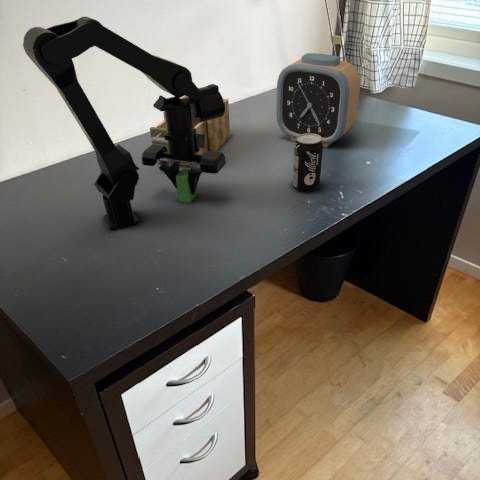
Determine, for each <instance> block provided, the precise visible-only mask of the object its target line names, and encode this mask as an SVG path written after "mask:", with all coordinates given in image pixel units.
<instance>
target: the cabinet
mask: <svg viewBox="0 0 480 480" xmlns="http://www.w3.org/2000/svg"><path fill="white" fill-rule="evenodd" d="M180 98H181V99H182V98H187V96H183V97H180ZM223 101H224V103H225V113H224V115H223V116H222V117H219V118H215V119H211V120H208V121H207V126H208V139H209V150H208V151H216V152H218V150H219V149H220V148H221V147H222V145H223V144H224V143H226V142H227V140H229V138H230V137H231V125H230V124H231V123H230V104H229V98H223ZM162 113H163V114H162V115H163V121H164V120H165V115H164V111H162ZM208 151H207V152H208ZM207 152H206V153H207ZM206 153H205V154H206ZM205 154H204V155H205Z"/></svg>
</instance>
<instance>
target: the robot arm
mask: <svg viewBox="0 0 480 480" xmlns="http://www.w3.org/2000/svg"><path fill="white" fill-rule="evenodd" d="M22 46H23V50H24V52H25V55H26V56H27V57H28V58H29V59H30V60H31V62H32V63H33V64H34V66H36V67H37V69H38V70H39V71H40V72H41V73H42V74H43V75H44V76H45V77H46V78H47V80H48V81H49V82H50V83H51V84H52V85H53V86H54V87H55V88H56V90H57V92H58V93H59V95H60V97H61V98H62V100H63V102H64V103H65V104H66V106H67V108H68V110H69V112H70V113H71V114H72V117H74V120H75V121H76V123H77V124H78V127H80V129H81V130H82V132H83V134H84V135H85V137H86V139H87V140H88V142H89V144H90V145H91V147H92V148H93V150H94V152H95V156H96V161H97V164H98V167H99V169H100V173H99V175H98V176H97V178H96V180H95V181H94V183H93V184H94V187H95V189H97V191H98V192H99V193H100V194H101V195H102V201H103V206H104V209H105V213H106V214H103V216H104V220H105V222H106V225H107V226H108V228H109V230H116V229H121V228H124V227H128V226H132V225H137V224H139V219H138V218H137V216H136V214H135V212H134V210H133V206H132V201H133V200H134V197H135V190H136V186H138V185H137V184H138V182H139V180H140V175H139V172H138V171H139V170H140V168H139V167H138V166H137V165H136V164H135V162H134V159H133V156H132V154H131V152H129V151H128V150H127V149H126V148H125V147H123V146H122V145H121V144H119V143H118V144H116V145H115V143H114V141H113V139H112V138H111V136H110V135H109V134H110V133H108V130H107V129H106V127H105V125H104V124H103V122H102V120H101V119H100V117H99V115H98V114H97V112H96V110H95V108H94V106H93V105H92V103H91V101H90V99H89V98H88V96H87V94H86V92H85V91H84V89H83V87H82V85H81V84H80V82H79V79H78V76H77V72H76V66H75V63H74V61H73V59H75V58H77V57H79V56H81V55H82V54H84V53H85V52H86V51H88V50H89V49H91V48H94V47H96V48H97V49H99V50H101V51H103V52H104V53H106V54H109V55H110V56H112V57H114V58H115V59H118V60H119V61H121V62H123V63H125V64H126V65H128V66H130V67H132V68H134V69H136V70H137V71H139V72H140V73H142V74H143V75H144V76H145V78H147V79H148V80H149V81H150V82H152V83H153V84H154V86H156V87H158V88H159V89H160V90H162V91H163V92H166V93H168V94H170V95H171V97H165V96H164V95H160V94H159V95H158V98H157V100H155V101H154V103H153V108H155V109H156V110H157V111H159V112H162V113H163V112H164V114H163V116H164V115H165V122H166V129H167V134H166V135H165V140H168V144H169V151H170V152H168V151H167V148H166V147H165V146H161V145H152V144H150V146H148V147H147V148H146V149H145V150H144V151H143V152H142V153H141V156H140V158H141V164H142V165H143V166H148V167H155V165H156V164H158V162H159V161H160V162H159V164H160V166H159V167H158V170H159V171H162V173H164V174H165V176H166V177H167V178H168V179H169V181H170V182H171V184H172V185H173V186H174V188H175V189H176V190H177V183H176V175H177V174H178V173H179V172H180V171H181V170H180V169H181V164H180V162H182V163H190V164H191V165H190V166H191V167H190V170H189V171H188V177H189V183H190V189H191V193H192V195H194V194H195V192H196V193H197V188H198V184H199V180H200V177H201V175H202V174H203V173H204V174H213V175H214V174H215V175H216V174H218V173H219V172H220V171H221V170H222V169H223V168H224V167H225V166H226V163H227V162H226V155H225V154H224V153H223V152H222V151H208V152H207V153H206V154H204V155H195V153H196V152H199V151H200V148H204V142H205V134H200V133H196V130H195V128H193V126H192V118H193V119H195V120H196V121H197V122H204V121H208V120H211V119H215V118H219V117H222V116H223V115H224V113H225V103H224V101H223V99H224V97H223V96H222V94H221V92H220V89H219V87H220V86H219V85H217V84H215V83H211V84H208V85H205V86H202V87H198V86H197V85H196V84H195V82H194V81H193V76H192V72H191V70H190V69H189V68H187V67H186V66H183V65H181V64H178V63H176V62H174V61H172V60H168V59H166V58H163V57H160V56H158V55H154V54H152V53H150V52H148V51H147V50H145V49H143V48H142V47H140V46H138V45H137V44H135V43H133V42H131V41H130V40H128V39H126V38H125V37H123V36H121V35H119V34H118V33H116V32H115V31H113V30H110V28H107V27H106V26H104V25H103V24H102V23H101V22H100V21H99V20H97V19H94V18H91V17H89V16H81V17H79V18H77V19H75V20H72V21H68V22H64V23H60V24H55V25H53V26H49V27H48V28H47V27H46V28H44V27H42V26H34V27H31V28H29V29H28V30H27V31H26V32H25V33H24V36H23V42H22ZM184 96H187V98H183V97H184ZM181 98H182V99H181ZM157 160H159V161H157ZM176 192H178V190H177V191H176Z"/></svg>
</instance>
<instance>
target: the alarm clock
mask: <svg viewBox="0 0 480 480" xmlns="http://www.w3.org/2000/svg"><path fill="white" fill-rule="evenodd" d="M360 75H361V74H360V73H359V71H358V68H357V67H356V66H355V65H354V64H353V63H351V62H348V61H346V60H345V61H344V60H342V59H341V57H340V56H339V55H335V54H334V55H333V54H325V53H317V52H316V53H313V52H307V53H305V54H303V55H301V58H300V59H298V60H297V61H295V62H293V63H291V64H289V65H287V66H286V67H284V68H283V69H282V70H281V71H280V73H279V75H278V77H277V78H278V79H277V81H276V114H275V115H276V121H277V125H278V127H279V129H280V130H281V131H282V132H283V133H284V134H285V135H286V136H289V137H290V141H293V142H296V141H297V136H299V135H301V134H306V133H312V134H317V135H319V136H321V138H322V140H321V141H322V143H323V148H328V147H329V146H330V145H332V143H334V142H336V141H338V140H340V138H341V137H343V136H344V135H345V134H347V132H348V131H349V130H351V128H353V126H354V124H355V122H356V121H357V114H358V109H359V108H358V107H359V99H360V92H361V91H360V90H361V76H360Z"/></svg>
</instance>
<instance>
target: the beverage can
mask: <svg viewBox="0 0 480 480" xmlns="http://www.w3.org/2000/svg"><path fill="white" fill-rule="evenodd" d="M321 140H322V138H321V136H319V135H317V134H312V133H306V134H301V135H299V136H297V141H294V146H293V167H292V185H293V187H294V188H295V189H296V190H297V191H300V192H304V193H308V192H313V191H316V190H317V189H318V188H319V187H320V183H321V175H322V165H323V164H322V162H323V151H324V147H323V143H322V141H321Z"/></svg>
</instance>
